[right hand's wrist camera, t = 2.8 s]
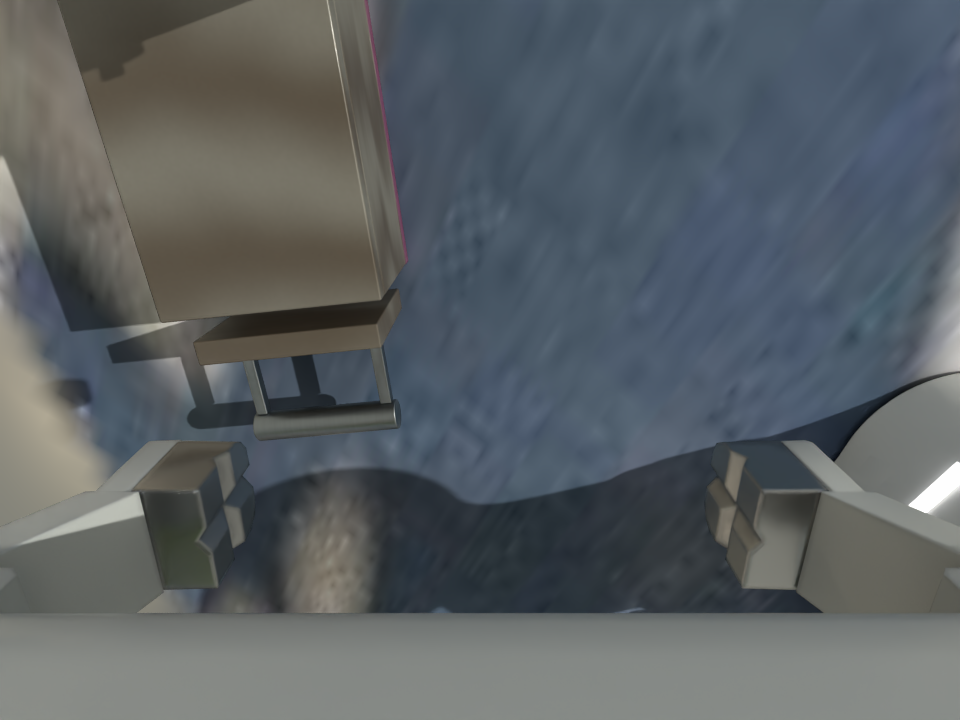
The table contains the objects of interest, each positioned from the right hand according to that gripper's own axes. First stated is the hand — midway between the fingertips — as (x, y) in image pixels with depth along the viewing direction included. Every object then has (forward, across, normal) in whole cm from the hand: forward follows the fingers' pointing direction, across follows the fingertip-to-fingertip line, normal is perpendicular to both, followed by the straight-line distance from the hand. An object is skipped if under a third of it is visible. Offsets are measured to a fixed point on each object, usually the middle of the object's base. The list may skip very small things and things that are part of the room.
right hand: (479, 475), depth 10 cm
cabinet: (+24, +10, -6) cm, 27 cm away
